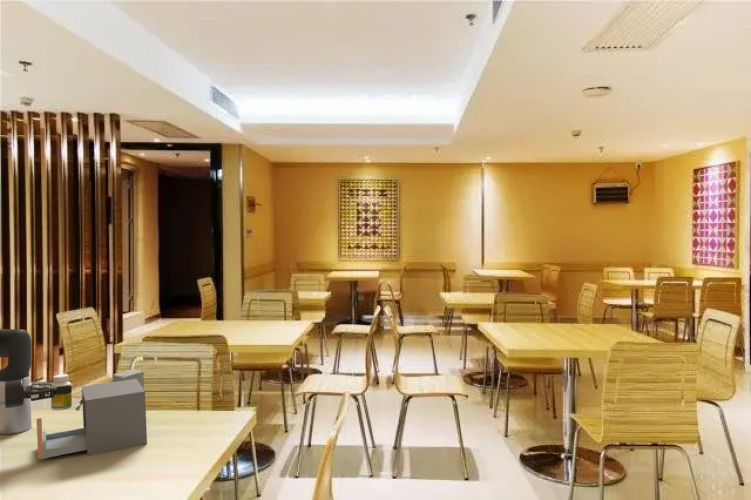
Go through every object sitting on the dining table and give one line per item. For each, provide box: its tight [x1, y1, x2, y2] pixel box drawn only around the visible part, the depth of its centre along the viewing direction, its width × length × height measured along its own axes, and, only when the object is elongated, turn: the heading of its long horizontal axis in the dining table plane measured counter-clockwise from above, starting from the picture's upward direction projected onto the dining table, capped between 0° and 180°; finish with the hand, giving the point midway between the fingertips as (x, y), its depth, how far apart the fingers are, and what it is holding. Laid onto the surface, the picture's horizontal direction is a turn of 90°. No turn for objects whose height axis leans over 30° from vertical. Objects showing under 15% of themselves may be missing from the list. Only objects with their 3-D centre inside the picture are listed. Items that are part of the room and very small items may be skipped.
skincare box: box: [112, 368, 145, 390], centre depth 198 cm, size 8×7×16 cm
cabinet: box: [81, 379, 148, 456], centre depth 175 cm, size 18×16×16 cm
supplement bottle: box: [50, 373, 73, 411], centre depth 170 cm, size 5×5×10 cm
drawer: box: [36, 417, 87, 460], centre depth 169 cm, size 15×16×11 cm
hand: (70, 386), depth 172 cm, fingers closed on supplement bottle, 5 cm apart
